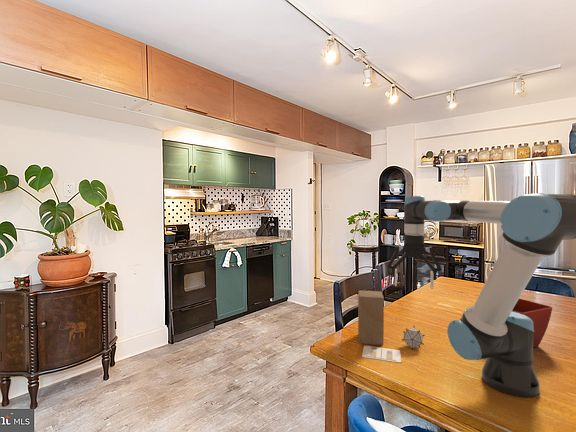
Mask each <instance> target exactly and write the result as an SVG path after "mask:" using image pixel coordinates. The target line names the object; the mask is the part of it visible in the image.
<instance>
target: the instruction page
mask: <svg viewBox="0 0 576 432" xmlns="http://www.w3.org/2000/svg"><path fill="white" fill-rule="evenodd" d="M361 357H362V358H364V359H365V358H366V359H371V360H378V361H386V362H391V363H397V364H398V363H399V364H401V363H402V356H401V350H399V349H392V348H384V347H380V346H379V347H376V346H369V345H363V349H362V355H361Z"/></svg>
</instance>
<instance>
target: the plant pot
mask: <svg viewBox="0 0 576 432" xmlns="http://www.w3.org/2000/svg"><path fill="white" fill-rule="evenodd" d="M512 312H516V313H520V314H523V315H525V316H527V317H529V318H530V319H531V320H532V321H533V328H534V336H533V348H536V347H539V346H540V344H541V342H542V341H543V338H544V336H545V334H546V332H547V329H548V326H549V323H550V320H551V317H552V316H551V315H552V312H553V307H552V306H551V305H546V304H542V303H539V302H535V301H530V300H526V299H524V298H521V297H520V298H519V299H518V301H517V303H516V305H515V306H514V308H513V310H512Z"/></svg>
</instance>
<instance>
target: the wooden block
mask: <svg viewBox="0 0 576 432" xmlns="http://www.w3.org/2000/svg"><path fill="white" fill-rule="evenodd" d="M357 293H358V296H357V297H358V301H357V303H358V310H357V312H358V313H357V314H358V315H357V317H358V318H357V321H358V323H357V330H358V331H357V333H358V334H357V336H358V343H359V344H361V345H375V346H384V337H385V335H384V326H385V325H384V321H385V318H384V317H385V316H384V314H385V313H384V312H385V305H384V304H385V302H384V301H385V299H384V298H385V297H384V295H383V292H382V291H376V290H358V292H357Z"/></svg>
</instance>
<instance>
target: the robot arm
mask: <svg viewBox="0 0 576 432" xmlns="http://www.w3.org/2000/svg"><path fill="white" fill-rule="evenodd" d="M403 207H404V211H403V212H404V214H403V215H404V217H403V218H404V223H403V224H404V229H403V233H404V235H403V246H400V245H398V244H397V245H396V246H395V250H394V253H393V255H392V256H391V258H390V260H389V262H388V264H387V268H388V269H390V270H391V277H392V278H394V287H397V286H398V284H397V283H398V282H397V281H398V279H397V278H398V269H397V267H399V266H400V264H402V262H403V261H404V260H405V259H407V258H408V257H409V258H410V259H411V258H415V259H419V258H421V259H422V260H423V261H424V262H425V264H427V266H428V267H429V268H430V284H429V285H430V286H429V287H430V289H432V290H433V289H434V281H437V274H438V272H442V271H443V269H442V266H441V265H440V264H439V261H438V260H437V257H436V255H435V254H434V253H435V252H434V248H433V247H432V246H428V247H425V236H424V235H425V221H429V222H445V221H446V222H447V221H448V222H449V221H461V222H476V223H484V224H495V225H496V224H497V225H498V224H499V225H501V230H502V231H503V232H502V235H501V237H502V238H503V240H504V242H505V243H504V245H503V247H502V249H501V251H500V253H499V255H498V257H497V259H496V261H495V262H494V265H493V267H492V269H491V271H490V273H489V275H488V277H487V278H486V281H485V283H484V285H483V287H482V289H481V290H480V293H479V295H478V296H477V298H476V301H475V302H474V305H472V306H467V307H466V308H465V310H464V312H463V313H462V315H461V318H460V319H454V320H451V321H450V322H449V323H448V325H447V331H446V332H447V338H448V340H449V343H450V346H451V347H452V348H453V350H454V351H455V353H456V354H457V355H458V356H459V357H461V358H462V359H464V360H467V361H474V360H475V361H480V360H483V359H486V360H485V362H484V364H483V367H482V369H481V377H482V378H481V379H482V380H483V381H484V382H485V383H486V385H488V386H490V387H491V388H493V389H495V390H497V391H499V392H501V393H504V394H508V395H511V396H515V397H522V398H533V397H537V396H538V395H539V394H540V389H541V388H540V382H539V379H538V376H537V373H536V371H535V368H534V347H533V336H534V328H533V321H532V320H531V319H530V318H529V317H527V316H525V315H523V314H520V313H516V312H512V310H513V308H514V306H515V305H516V303H517V301H518V299H519V298H520V299H521V296H522V294H523V292H524V291H525V289H526V287H527V286H528V284H529V283H530V281H531V278H532V277H533V276H534V274H535V273H536V271H537V269H538V267H539V265H540V263H541V262H542V260H543V258H547V257H551V256H553V255H555V253H556V251H557V250H558V248H559V247H560V245H561V243H562V241H565V240H568V241H569V240H575V239H576V194H569V193H562V194H561V193H559V194H558V193H555V194H554V193H542V192H538V193H537V192H536V193H535V192H534V193H530V194H523V195H519V196H516V197H514V198H512V199H511V200H510V201H508V200H504V201H503V200H499V201H498V200H440V199H439V200H437V199H435V200H426V197H425V196H424V195H408V196H406V197H405V198H404V205H403ZM402 250H403V252H404V253H403V254H402V256H400V257H399V259H398V260H397V261H396V262H395V263H394V261H395V260H396V258H397V256H398V254H399V253H400V252H401V251H402ZM425 251H426V252H427V253H429V255H430V257H431V259H432V261H433V262H434V264H435V266H436V267H435V266H434V265H433V264H432V263H431V261H429V260H428V258H427V257H426V256H425V255H424V253H425ZM393 263H394V264H393Z"/></svg>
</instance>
